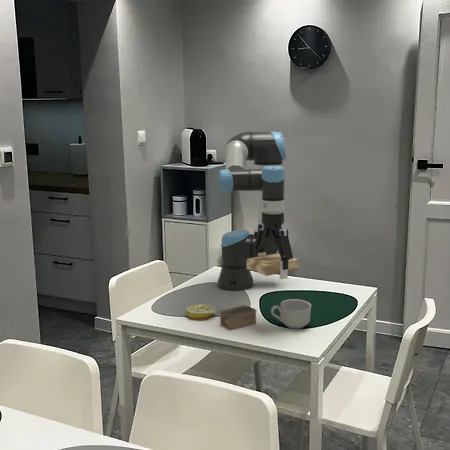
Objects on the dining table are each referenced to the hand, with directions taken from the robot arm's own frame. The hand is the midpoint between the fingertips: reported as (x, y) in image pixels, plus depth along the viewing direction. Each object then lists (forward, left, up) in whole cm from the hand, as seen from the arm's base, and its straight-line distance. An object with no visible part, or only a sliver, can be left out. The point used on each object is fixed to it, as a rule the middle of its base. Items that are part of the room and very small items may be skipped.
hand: (272, 274), depth 210 cm
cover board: (0, 0, +2) cm, 2 cm away
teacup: (+4, +5, -19) cm, 20 cm away
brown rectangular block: (-8, -9, -18) cm, 22 cm away
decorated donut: (-23, -15, -19) cm, 33 cm away
